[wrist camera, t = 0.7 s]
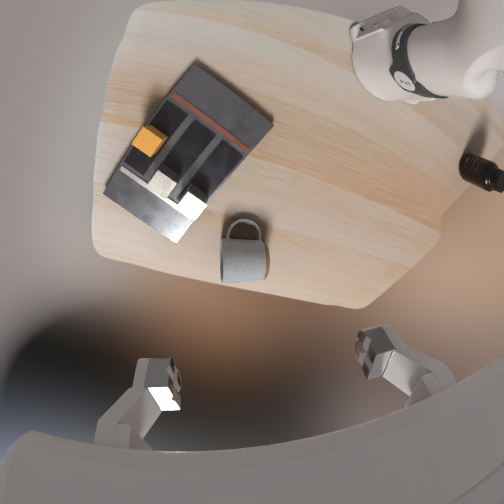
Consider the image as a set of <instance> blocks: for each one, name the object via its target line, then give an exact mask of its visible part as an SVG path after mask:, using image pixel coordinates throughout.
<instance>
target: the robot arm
mask: <svg viewBox="0 0 504 504" xmlns="http://www.w3.org/2000/svg"><path fill="white" fill-rule="evenodd" d="M360 28H362V30H363V31H361V30H360ZM350 35H351V38H352V41H353V52H352V60H353V66H354V69H355V72H356V75H357V77H358V78H359V80H360V82H361V83H362V85H363V86H364V87H365V88H366V89H367V90H368V91H369V92H370V93H371V94H373V95H374V96H376V97H377V98H379V99H382V100H385V101H390V102H395V101H404V102H406V103H409V104H417V103H418V102H419V101H422V100H434V99H440V98H448V97H456V98H463V99H470V100H480V99H483V98H485V97H487V96H488V95H489V94H491V93H492V92H493V90H494V88H495V87H496V84H497V80H498V71H500V72H503V73H504V0H459V5H458V9H457V11H456V13H455V14H454V15H453V16H452V17H450V18H449V19H445V20H442V21H439V22H435V23H434V22H432V24H431V23H430V22H429V21H428V20H427V19H425V18H424V17H423V16H421V15H420V14H418V13H412V12H410V11H409V10H407V9H406V8H404V7H402V6H399V7H395V8H392V9H390V10H387V11H385V12H383V13H380V14H378V15H376V16H373V17H371V18H369V19H367V20H365V21H362V22H360V23H358V24H356V25H354V26H352V27H351V28H350ZM357 337H358V339H359V340H358V341H357V342H356V344H355V348H354V350H355V356H356V359H357V361H358V362H359V363H361V364H362V365H363V366H362V371H363V373H364V375H365V377H366V380H368V379H372V378H375V377H379V376H383V377H384V378H386V379H387V380H388V381H390V382H391V383H393V384H394V385H395V386H397V387H398V388H399V389H401V390H402V391H403V392H405V393H406V394H408V395H409V396H410V397H409V399H408V400H407V402H406V403H405V405H404V407H405V408H403V409H401V410H398V411H396V412H394V413H391V414H388V415H385V416H382V417H380V418H377V419H374V420H371V421H368V422H365V423H362V424H359V425H355V426H353V427H349V428H345V429H342V430H338V431H334V432H331V433H327V434H323V435H319V436H314V437H310V438H305V439H300V440H296V441H290V442H285V443H279V444H273V445H266V446H259V447H251V448H242V449H232V450H217V451H195V452H194V451H193V452H169V451H168V452H167V451H152V449H151V447H150V446H149V445H148V444H147V443H146V442H145V441H144V440H143V438H144V436H145V435H146V433H147V432H148V430H149V429H150V428H151V426H152V425H153V423H154V422H155V420H156V419H157V417H158V416H159V414H160V413H161V412H162V411H161V410H180V396H179V393H178V392H179V391H180V389H181V379H180V374H179V371H178V369H177V368H175V362H174V359H173V358H145V359H139V360H138V362H137V367H136V372H135V377H134V382H133V387H132V388H129V389H128V390H127V391H126V392H125V393H124V394H123V395H122V396H121V397H120V398H119V399H118V401H117V402H116V403H115V404H114V405H113V406H112V407H111V408H110V409H109V410H108V411H107V412H106V413H105V414H104V415H103V416H102V417H101V418H100V419H99V420H98V424H97V429H96V434H95V439H94V444H88V443H82V442H77V441H72V440H67V439H63V438H59V437H55V436H50V435H47V434H43V433H40V432H36V431H29V432H26V433H25V434H23V435H22V436H21V437H20V438H19V439H17V440H16V441H15V442H14V443H13V444H12V445H11V446H10V447H9V448H8V450H7V452H6V454H5V457H4V459H3V462H2V466H1V470H0V504H504V356H502V357H500V358H498V359H497V360H495V361H493V362H492V363H490V364H489V365H487V366H486V367H484V368H482V369H481V370H479V371H478V372H476V373H474V374H472V375H471V376H469V377H467V378H466V379H464V380H462V381H460V382H458V383H457V381H456V380H455V378H454V376H453V375H452V373H451V372H450V370H449V369H448V367H447V366H446V365H445V364H443V363H441V362H439V361H437V360H435V359H433V358H431V357H429V356H427V355H425V354H423V353H421V352H419V351H418V350H416V349H414V348H412V347H410V346H405V345H404V343H403V342H402V340H401V339H400V337H399V336H398V334H397V333H396V331H395V330H394V329H393V327H392V326H391V324H389V323H387V324H383V325H380V326H375V327H371V328H367V329H363V330H360V331H359V332H358V336H357Z"/></svg>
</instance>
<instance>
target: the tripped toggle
mask: <svg viewBox="0 0 504 504" xmlns="http://www.w3.org/2000/svg"><path fill="white" fill-rule="evenodd" d="M167 138H168V137H167V136H166V135H165V134H163V133H162V132H160V131H159V130H158V129H156V128H155V127H153V126H152V125H147V126H143V128H142V129H141V130H140V132H139V133H138V135H137V136H136V138H135V139H134V141H133V142H132V145H134V146H135V147H136V148H138V149H139V150H141V151H142V152H144V153H145V154H146V155H148V156H149V157H151V156H153V155H154V154H155V153H157V151H158V150H159V149H160V147H161V146H162V144H163V143H164V142H165V140H166V139H167Z"/></svg>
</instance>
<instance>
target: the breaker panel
mask: <svg viewBox="0 0 504 504" xmlns="http://www.w3.org/2000/svg"><path fill="white" fill-rule="evenodd" d="M147 125H152V126H153V127H155V128H156V129H158V130H159V131H160V132H162V133H163V134H165V135H166V136H167V137H168V138H167V139H166V140H165V142H164V143H163V144H162V146H161V147H160V149H159V150H158V151H157V153H155V154H154V155H153V156H151V157H149V156H148V155H146V154H145V153H144V152H142V151H141V150H139V149H138V148H136V147H135V146H134V145H132V146H131V148H130V149H129V151H128V152H127V154H126V155H125V157H124V158H123V160H122V162H121V163H120V165H119V167H118V168H117V170H116V172H115V173H114V175H113V177H112V178H111V180H110V182H109V184H108V185H107V187H106V189H105V191H104V192H103V194H104V195H106V196H107V197H109V198H110V199H111V200H113V201H114V202H116V203H117V204H119V205H120V206H121V207H123V208H124V209H126V210H127V211H129V212H130V213H132V214H133V215H135V216H136V217H137V218H139V219H140V220H142V221H143V222H145V223H146V224H148V225H149V226H151V227H152V228H154V229H155V230H157V231H158V232H160V233H161V234H163V235H164V236H166V237H167V238H169V239H170V240H172V241H173V242H175V243H177V242H178V240H179V239H180V238H181V236H182V235H183V234H184V232H185V231H186V230H187V229H188V227H189V226H190V225H191V223H192V222H193V221H194V220H196V218H197V217H198V216H199V215H200V213H201V212H202V211H203V210H204V208H205V207H206V206H207V203H208V202H209V201H210V199H211V198H212V197H213V196H214V195H215V193H216V192H217V191H218V190H219V188H220V187H221V186H222V185H223V184H224V182H225V181H226V180H227V179H228V178H229V176H230V175H231V174H232V173H233V172H234V170H235V169H236V168H237V167H238V166H239V165H240V163H241V162H242V161H243V160H244V159H245V158H246V156H247V155H248V154H249V153H250V152H251V151H252V150H253V148H254V147H255V146H256V145H257V144H258V143H259V142H260V141H261V139H262V138H263V137H264V136H265V135H266V134H267V133H268V132H269V131H270V129H271V128H272V127H273V126H274V125H273V124H272V123H271V122H270V121H268V120H267V119H266V118H265V117H264V116H262V115H261V114H260V113H259V112H258V111H256V110H255V109H254V108H253V107H251V106H250V105H249V104H248V103H246V102H245V101H244V100H243V99H241V98H240V97H239V96H237V95H236V94H235V93H234V92H232V91H231V90H230V89H228V88H227V87H226V86H224V85H223V84H222V83H220V82H219V81H218V80H216V79H215V78H213V77H212V76H211V75H209V74H208V73H206V72H205V71H204V70H202V69H201V68H199V67H198V66H196V65H195V64H194V65H193V66H192V67H191V69H190V70H189V71H188V72H187V73H186V74H185V75H184V77H183V78H182V79H181V80H180V81H179V83H178V84H177V85H176V86H175V87H174V89H173V90H172V91H171V92H170V94H169V95H168V96H167V97H166V99H165V100H164V101H163V102H162V104H161V105H160V106H159V108H158V109H157V110H156V112H155V113H154V114H153V116H152V117H151V119H150V120H149V121H148V123H147V124H146V125H145V126H147Z"/></svg>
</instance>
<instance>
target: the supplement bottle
mask: <svg viewBox="0 0 504 504" xmlns="http://www.w3.org/2000/svg"><path fill="white" fill-rule="evenodd" d="M459 171H460V175H461V177H462V178H463V179H464V180H465V181H467V182H469V183H471V184H474V185H476V186H478V187H480V188H482V189H484V190H486V191H493V190H495V191H498V192H501V193H502V192H503V191H504V171H503V170H501V169H499V168H498V166H497V165H496V164H495V163H494V162H492V161H490V160H487V159H484V158H482V157H479V156H476V155H473V154H469V153H468V154H465V155H464V156H463V157H462V159H461V161H460V165H459Z"/></svg>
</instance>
